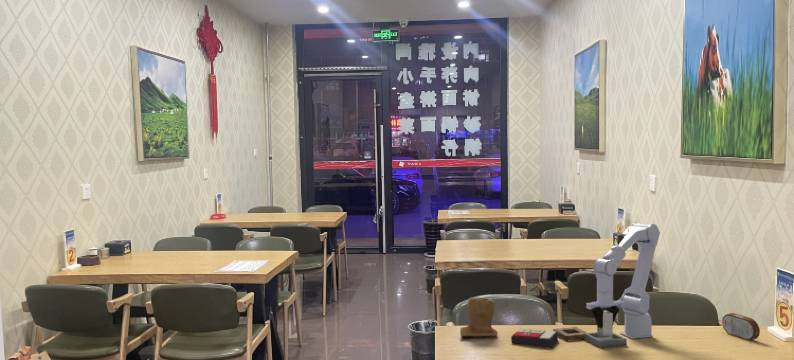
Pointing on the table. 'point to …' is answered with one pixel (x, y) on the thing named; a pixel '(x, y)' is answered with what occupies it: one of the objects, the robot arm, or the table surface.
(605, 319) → the lock pin
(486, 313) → the brown wooden stand
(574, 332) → the brown square frame
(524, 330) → the red black box
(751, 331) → the oval speaker
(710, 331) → the table surface
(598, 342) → the tray
